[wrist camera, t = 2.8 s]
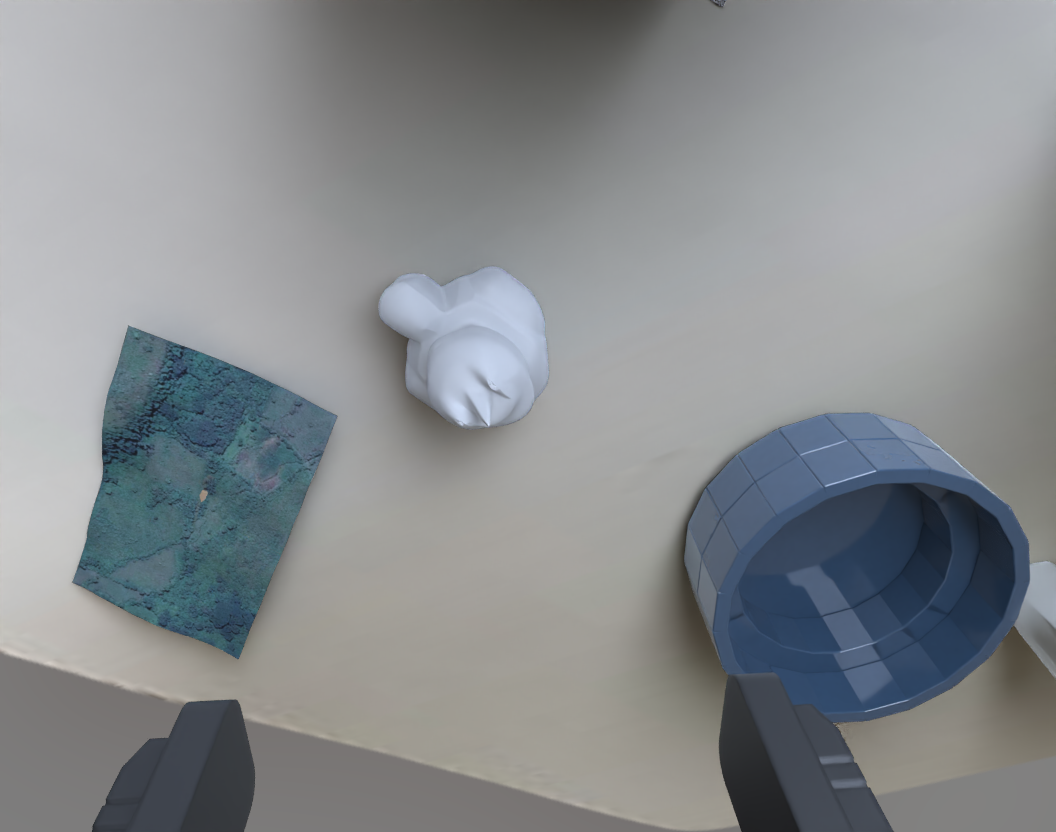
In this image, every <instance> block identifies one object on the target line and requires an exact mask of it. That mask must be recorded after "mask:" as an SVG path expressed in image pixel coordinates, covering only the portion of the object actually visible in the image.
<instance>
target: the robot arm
mask: <svg viewBox="0 0 1056 832" xmlns="http://www.w3.org/2000/svg"><path fill="white" fill-rule="evenodd" d="M719 756H720V764H721V769H722V774H723V778H724V781H725V784H726V787H727V790H728V793H729V796H730V799H731V802H732V805H733V808H734V811H735V814H736V817H737V820H738V822H739V825H740V828H741V831H742V832H893V830H892V828H891V826H890V824H889V822H888V820H887V819H886V817H885V815H884V813H883V811H882V809H881V807H880V806H879V804H878V802H877V800H876V798H875V796H874V794H873V793H872V791H871V789H870V788H868V787H867V784H866V780H865V778H864V776H863V774H862V772H861V770H860V768H859V766H858V765H857V763H854V757H853V755H852V753H851V752H850V750H849V748H848V746H847V744H846V742H845V740H844V739H843V737H842V735H841V733H840V731H839V729H838V728H837V727H836V726H835V725H834V724H833V723H832V722H831V721H830V720H829V719H828V718H826V717H825V716H824V715H823V714H822V713H821V712H820V711H819V710H818V709H817V708H816V707H815V706H814V705H813V704H801V705H793V704H792V702H791V700H790V698H789V696H788V693H787V691H786V689H785V687H784V685H783V683H782V681H781V679H780V678H779V676H778V675H777V674H776V673H774V672H771V673H752V674H733V675H729V677H728V679H727V683H726V690H725V698H724V705H723V713H722V721H721V729H720V737H719ZM254 787H255V769H254V763H253V758H252V754H251V750H250V745H249V741H248V737H247V732H246V728H245V724H244V719H243V715H242V711H241V707H240V704H239V702H238V701H237V700H216V701H197V702H188V703H186V704H185V705H184V707H183V708H182V710H181V712H180V714H179V716H178V718H177V720H176V722H175V725H174V727H173V729H172V731H171V734H170V736H169V738H157V739H149V740H148V741H147V742H146V743H145V744H144V745H143V746H142V747H141V748H140V749H139V750H138V751H137V753H135V755H134V756H133V757H132V758H131V759H130V760H129V761H128V762H127V763H126V764H125V765H124V766H123V767H122V769H121V770H120V772H119V775H118V776H117V778H116V780H115V782H114V784H113V786H112V788H111V790H110V792H109V794H108V796H107V798H106V804H105V806H102V808H101V810H100V812H99V814H98V816H97V818H96V820H95V822H94V824H93V830H92V832H244V829H245V826H246V823H247V819H248V816H249V813H250V810H251V806H252V801H253V795H254Z"/></svg>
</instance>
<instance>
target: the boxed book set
mask: <svg viewBox="0 0 1056 832" xmlns="http://www.w3.org/2000/svg"><path fill="white" fill-rule="evenodd" d="M711 1H713V2H715V3H716V4H718V5H720V6H721V7H723V6H724V4H725V2H726V0H711Z"/></svg>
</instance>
